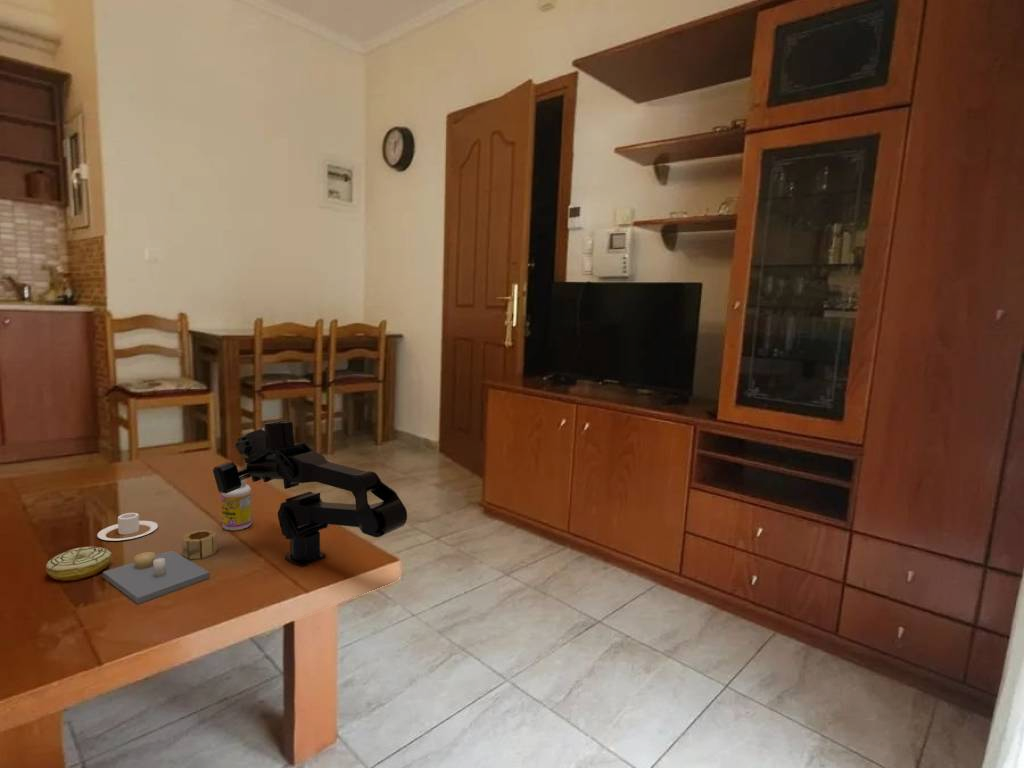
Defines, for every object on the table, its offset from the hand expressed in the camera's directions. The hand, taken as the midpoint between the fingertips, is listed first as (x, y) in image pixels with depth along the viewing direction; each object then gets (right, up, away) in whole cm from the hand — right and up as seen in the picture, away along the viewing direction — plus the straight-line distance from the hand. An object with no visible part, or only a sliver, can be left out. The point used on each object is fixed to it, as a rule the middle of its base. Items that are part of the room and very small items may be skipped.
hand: (234, 466), depth 134 cm
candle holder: (-25, -16, -1) cm, 30 cm away
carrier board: (-5, -19, -22) cm, 30 cm away
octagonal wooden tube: (-3, -18, -10) cm, 21 cm away
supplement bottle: (-2, -16, +5) cm, 17 cm away
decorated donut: (-22, -19, -20) cm, 35 cm away
